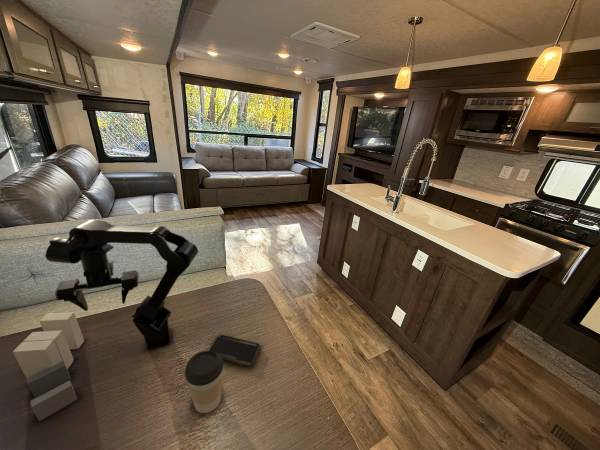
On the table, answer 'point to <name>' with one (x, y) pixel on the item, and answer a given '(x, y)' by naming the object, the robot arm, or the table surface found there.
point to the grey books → (54, 397)
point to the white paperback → (64, 327)
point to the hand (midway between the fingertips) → (106, 306)
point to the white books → (42, 352)
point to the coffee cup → (205, 380)
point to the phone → (236, 350)
